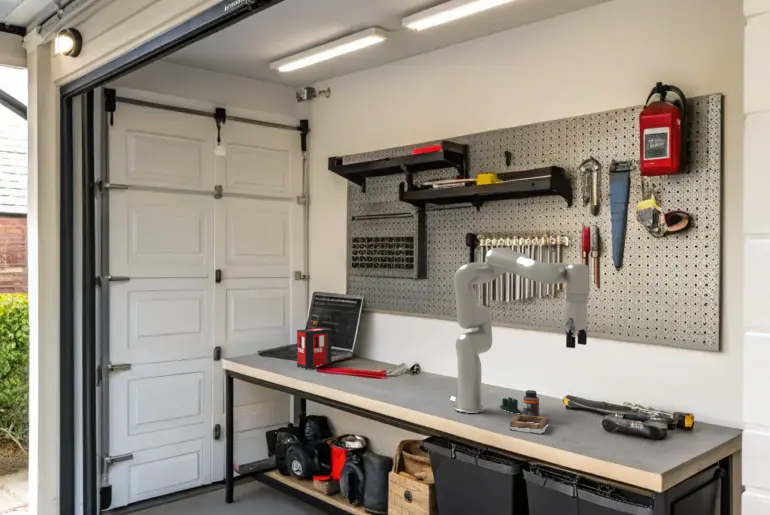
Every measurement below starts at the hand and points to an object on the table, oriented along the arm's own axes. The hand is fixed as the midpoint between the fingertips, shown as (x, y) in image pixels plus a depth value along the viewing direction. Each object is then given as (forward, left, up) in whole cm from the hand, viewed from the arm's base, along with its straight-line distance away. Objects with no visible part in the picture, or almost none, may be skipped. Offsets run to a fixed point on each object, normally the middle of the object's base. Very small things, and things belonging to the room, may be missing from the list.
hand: (576, 346), depth 223 cm
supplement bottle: (-19, +3, -31) cm, 37 cm away
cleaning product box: (-157, +19, -32) cm, 161 cm away
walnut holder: (-15, -6, -31) cm, 35 cm away
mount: (-32, +10, -32) cm, 46 cm away
